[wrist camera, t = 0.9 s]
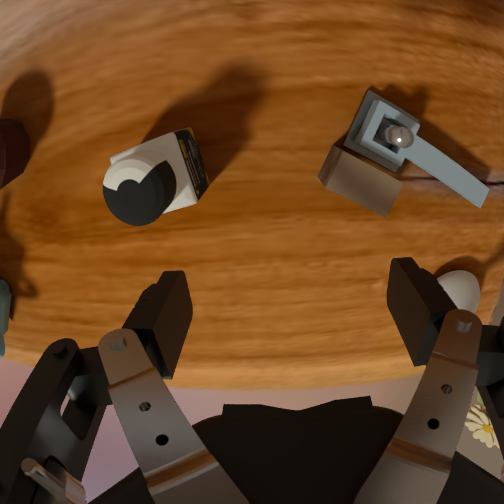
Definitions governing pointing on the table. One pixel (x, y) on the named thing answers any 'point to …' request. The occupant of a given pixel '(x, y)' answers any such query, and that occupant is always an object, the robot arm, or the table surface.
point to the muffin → (12, 150)
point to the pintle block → (379, 131)
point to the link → (419, 154)
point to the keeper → (359, 181)
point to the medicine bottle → (155, 178)
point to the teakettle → (4, 313)
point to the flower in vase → (467, 297)
